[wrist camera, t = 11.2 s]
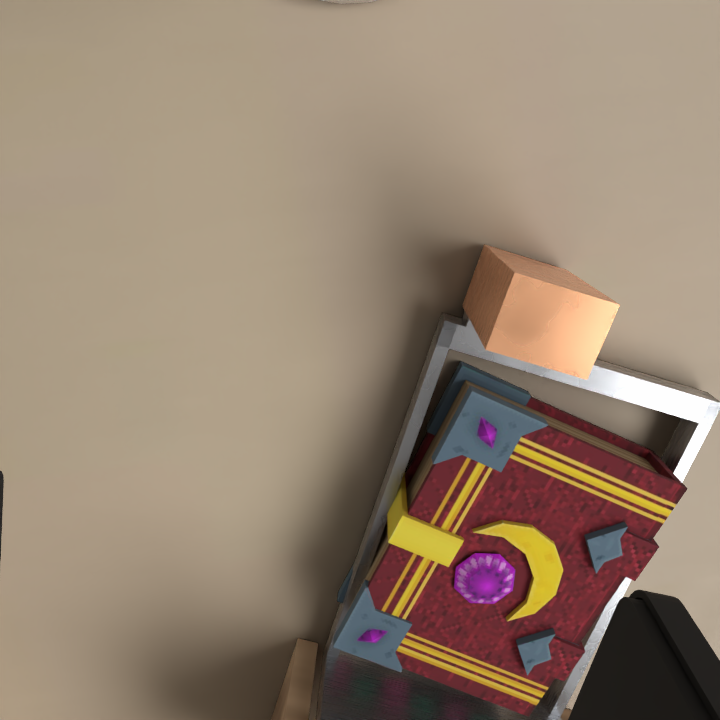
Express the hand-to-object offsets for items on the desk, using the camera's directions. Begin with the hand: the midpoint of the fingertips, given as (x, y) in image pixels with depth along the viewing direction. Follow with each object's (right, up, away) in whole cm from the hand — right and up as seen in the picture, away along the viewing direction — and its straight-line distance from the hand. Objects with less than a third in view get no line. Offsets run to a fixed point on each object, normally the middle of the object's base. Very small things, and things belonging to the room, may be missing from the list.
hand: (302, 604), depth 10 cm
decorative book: (+8, -5, +25) cm, 27 cm away
